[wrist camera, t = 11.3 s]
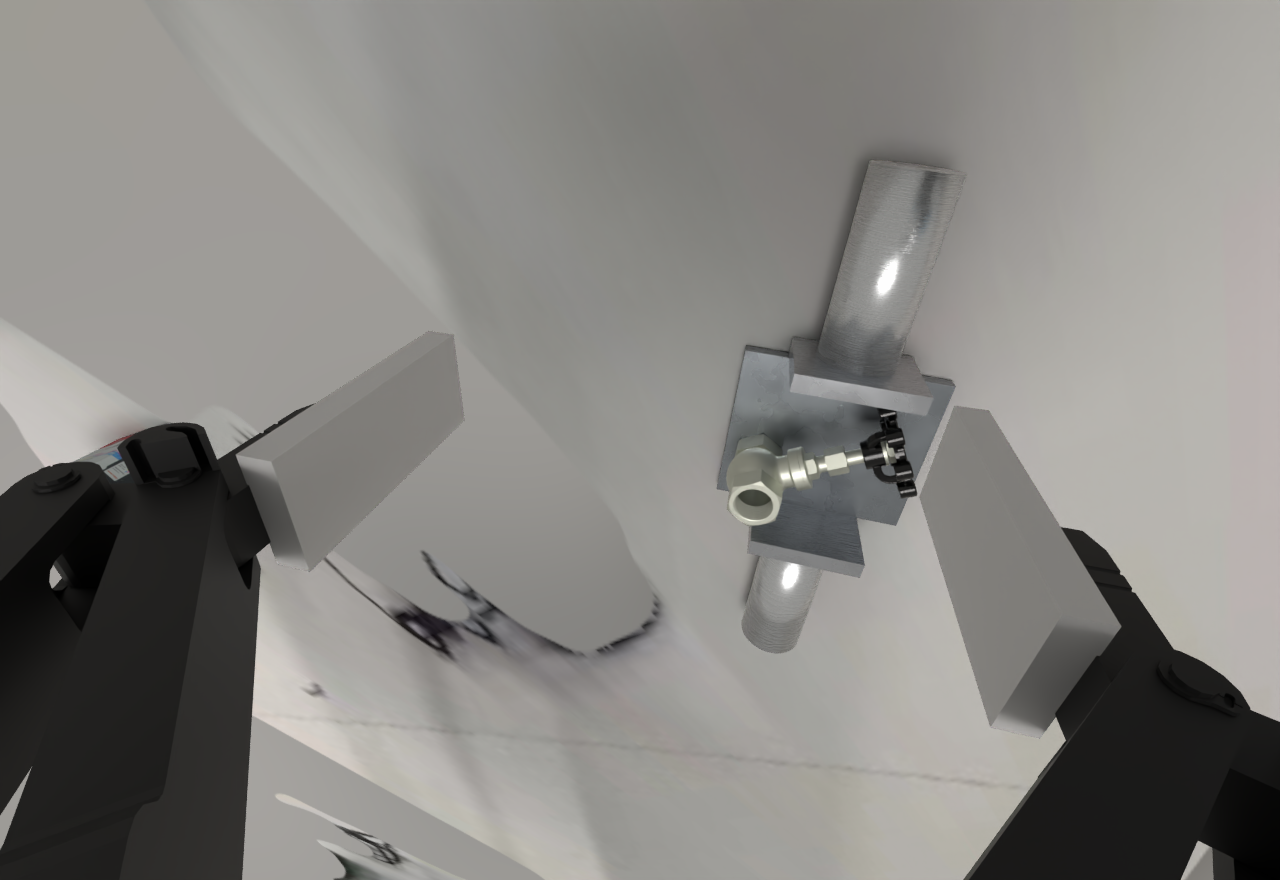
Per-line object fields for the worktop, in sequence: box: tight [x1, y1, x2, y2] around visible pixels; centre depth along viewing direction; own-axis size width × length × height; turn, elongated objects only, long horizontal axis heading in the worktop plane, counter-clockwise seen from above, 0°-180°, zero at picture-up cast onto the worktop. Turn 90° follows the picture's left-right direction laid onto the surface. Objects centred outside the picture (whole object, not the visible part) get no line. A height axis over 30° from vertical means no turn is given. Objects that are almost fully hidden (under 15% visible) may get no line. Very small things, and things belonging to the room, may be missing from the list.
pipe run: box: [717, 160, 967, 653], centre depth 40 cm, size 37×14×6 cm, turn 174°
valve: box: [726, 407, 917, 526], centre depth 39 cm, size 7×7×12 cm
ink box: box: [74, 423, 171, 484], centre depth 55 cm, size 9×5×12 cm, turn 109°
